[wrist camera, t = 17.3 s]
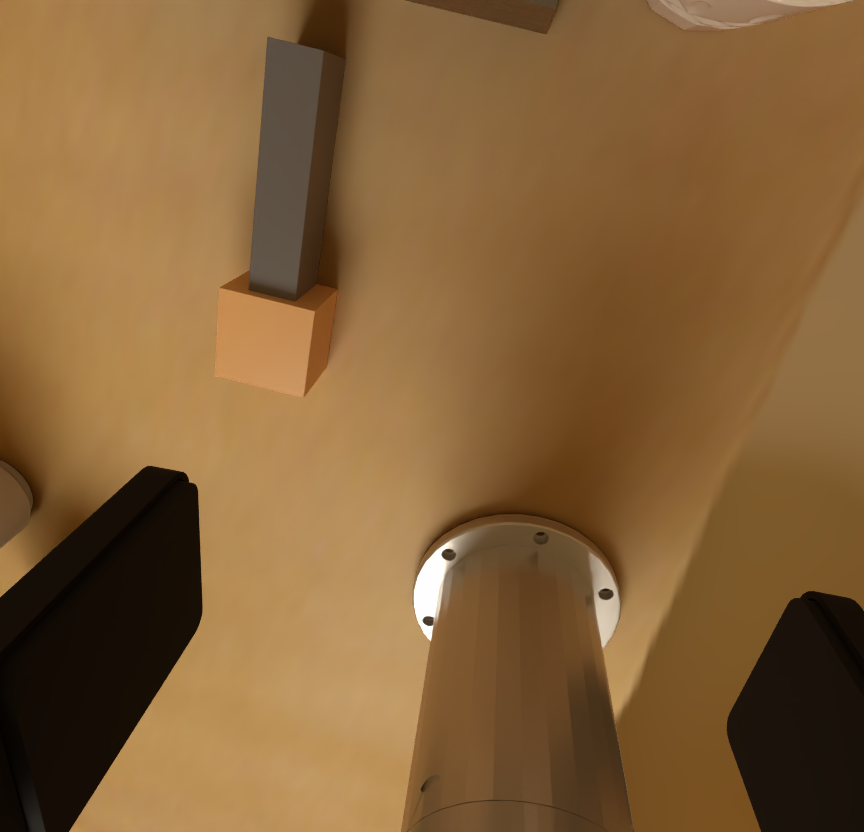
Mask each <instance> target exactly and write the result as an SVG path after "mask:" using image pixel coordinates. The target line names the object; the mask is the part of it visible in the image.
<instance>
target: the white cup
mask: <svg viewBox="0 0 864 832" xmlns="http://www.w3.org/2000/svg"><path fill="white" fill-rule="evenodd" d="M850 1H853V0H647V2H648V4H649V6H650V8H651V10H653V11H654V12H656V13H657V14H659V15H660V16H662V17H664V18H665V19H667V20H668V21H670V22H671V23H673V24H675V25H676V26H678V27H679V28H681V29H682V30H701V31H725V30H728V29H735V28H743V27H749V26H754V25H758V24H762V23H769V22H773V21H777V20H781V19H785V18H789V17H792V16H796V15H800V14H803V13H807V12H811V11H815V10H818V9H822V8H826V7H830V6H834V5H838V4H842V3H846V2H850Z"/></svg>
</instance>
